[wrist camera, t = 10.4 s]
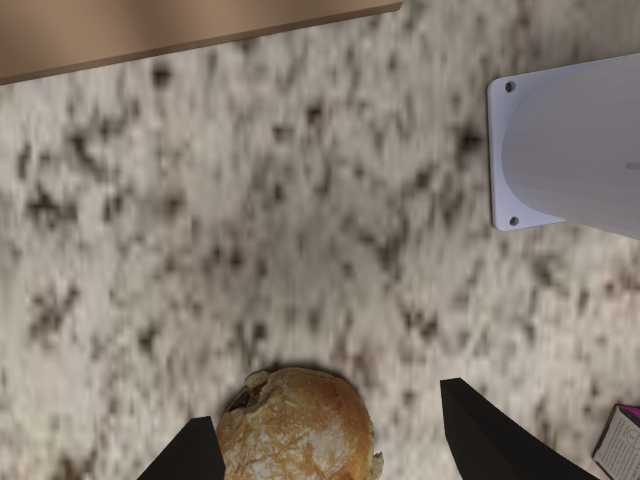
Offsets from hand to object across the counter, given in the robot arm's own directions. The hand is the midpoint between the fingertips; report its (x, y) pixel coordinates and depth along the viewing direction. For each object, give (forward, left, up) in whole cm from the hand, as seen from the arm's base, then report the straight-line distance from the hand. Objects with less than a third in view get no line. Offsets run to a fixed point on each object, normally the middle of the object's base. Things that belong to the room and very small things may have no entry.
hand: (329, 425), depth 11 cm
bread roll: (+3, +9, -11) cm, 15 cm away
